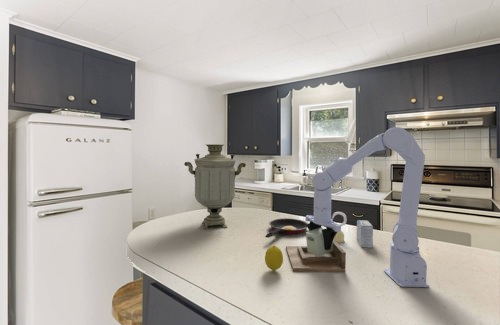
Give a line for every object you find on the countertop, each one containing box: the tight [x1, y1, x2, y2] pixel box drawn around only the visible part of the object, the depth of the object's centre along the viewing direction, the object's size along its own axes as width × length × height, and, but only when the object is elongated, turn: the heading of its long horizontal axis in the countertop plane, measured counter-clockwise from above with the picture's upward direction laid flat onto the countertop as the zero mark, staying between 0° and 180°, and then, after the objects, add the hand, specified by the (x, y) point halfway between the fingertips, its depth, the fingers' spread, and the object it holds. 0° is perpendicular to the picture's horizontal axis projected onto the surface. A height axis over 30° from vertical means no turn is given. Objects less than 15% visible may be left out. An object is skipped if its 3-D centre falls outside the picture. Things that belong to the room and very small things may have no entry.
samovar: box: [184, 143, 247, 230], centre depth 128 cm, size 30×26×40 cm
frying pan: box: [264, 217, 310, 238], centre depth 115 cm, size 19×32×4 cm, turn 149°
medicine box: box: [356, 219, 374, 249], centre depth 102 cm, size 8×4×9 cm, turn 168°
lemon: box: [264, 245, 284, 272], centre depth 79 cm, size 6×6×8 cm
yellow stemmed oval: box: [331, 211, 348, 243], centre depth 106 cm, size 6×5×12 cm
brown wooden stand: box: [285, 239, 347, 273], centre depth 88 cm, size 18×16×6 cm
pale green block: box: [305, 226, 333, 257], centre depth 87 cm, size 5×8×7 cm, turn 119°
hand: (321, 246), depth 88 cm, fingers closed on pale green block, 5 cm apart
